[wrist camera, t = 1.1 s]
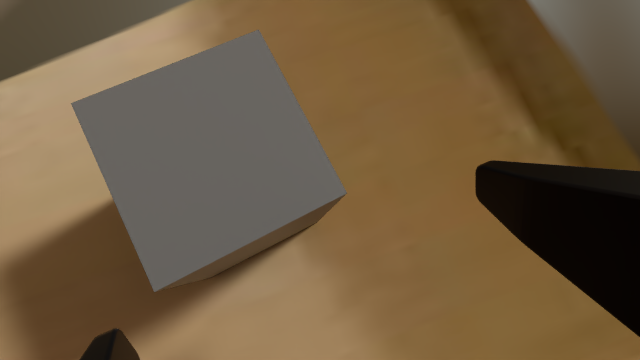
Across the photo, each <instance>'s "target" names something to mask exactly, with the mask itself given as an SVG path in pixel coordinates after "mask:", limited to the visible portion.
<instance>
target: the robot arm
mask: <svg viewBox="0 0 640 360" xmlns="http://www.w3.org/2000/svg"><path fill="white" fill-rule="evenodd" d="M476 196H477V198H478V200H479V201H480V202H481V203H482V204H483V205H484V206H485V207H486V208H487V209H488V210H489V211H490V212H491V213H492V214H493V215H494V216H495V217H496V218H497V219H498V220H499V221H500V222H501V223H502V224H503V225H504V226H505V227H506V228H507V229H508V230H509V231H510V232H511V233H512V234H513V235H515V236H516V237H517V238H518V239H519V240H520V241H521V242H522V243H523V244H525V245H526V246H527V247H528V248H529V249H531V250H532V251H533V252H534V253H536V254H537V255H538V256H539V257H541V258H542V259H543V260H544V261H546V262H547V263H548V264H549V265H551V266H552V267H553V268H554V269H556V270H557V271H558V272H559V273H561V274H562V275H563V276H564V277H565V278H567V279H568V280H569V281H570V282H572V283H573V284H574V285H575V286H577V287H578V288H579V289H580V290H582V291H583V292H584V293H585V294H587V295H588V296H589V297H590V298H592V299H593V300H594V301H595V302H597V303H598V304H599V305H600V306H602V307H603V308H604V309H605V310H607V311H608V312H609V313H610V314H611V315H613V316H614V317H615V318H616V319H618V320H619V321H620V322H621V323H623V324H624V325H625V326H626V327H628V328H629V329H630V330H631V331H633V332H634V333H635V334H636V335H638V336H639V337H640V171H630V170H616V169H603V168H589V167H575V166H562V165H548V164H534V163H521V162H507V161H488V162H486V163H484V164H481V165H479V166H478V167H477V169H476ZM80 360H140V358H139V356H138V354H137V352H136V350H135V349H134V348H133V346H132V345H131V343H130V342H129V341H128V339H127V338H126V336H125V335H124V334H123V332H122V331H121V330H119V329H116V328H115V329H112V330H110V331H107V332H105V333H103V334H101V335H99V336H97V337H95V338H94V340H93V341H92V342H91V344H90V345H89V347H88V348H87V350H86V351H85V353H84V354H83V355H82V357H81V358H80Z"/></svg>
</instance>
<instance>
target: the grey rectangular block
mask: <svg viewBox="0 0 640 360" xmlns="http://www.w3.org/2000/svg"><path fill="white" fill-rule="evenodd" d="M71 105H72V107H73V109H74V111H75V114H76V116H77V118H78V120H79V123H80V125H81V127H82V129H83V132H84V134H85V136H86V139H87V141H88V143H89V145H90V148H91V150H92V152H93V154H94V157H95V159H96V161H97V163H98V166H99V168H100V170H101V173H102V175H103V177H104V179H105V182H106V184H107V186H108V188H109V191H110V193H111V195H112V197H113V200H114V202H115V204H116V207H117V209H118V211H119V213H120V216H121V218H122V220H123V222H124V225H125V227H126V229H127V231H128V234H129V236H130V238H131V241H132V243H133V245H134V247H135V250H136V252H137V254H138V256H139V259H140V261H141V263H142V265H143V268H144V270H145V272H146V275H147V277H148V279H149V281H150V284H151V286H152V288H153V290H154V292H157V291H161V290H165V289H169V288H172V287H176V286H180V285H184V284H188V283H192V282H196V281H200V280H204V279H208V278H211V277H213V276H215V275H217V274H219V273H221V272H223V271H224V270H226V269H228V268H230V267H232V266H234V265H236V264H238V263H240V262H242V261H244V260H246V259H248V258H249V257H251V256H253V255H255V254H257V253H259V252H261V251H263V250H265V249H267V248H269V247H271V246H272V245H274V244H276V243H278V242H280V241H282V240H284V239H286V238H288V237H290V236H292V235H294V234H295V233H297V232H299V231H301V230H303V229H305V228H307V227H309V226H311V225H313V224H315V223H317V222H318V221H319V220H320V219H321V218H322V217H323V216H324V215H325V214H326V213H327V212H328V211H329V210H330V209H331V208H332V207H333V206H334V205H335V204H336V203H337V202H338V201H340V200H341V199H342V198H343V197H344V196H345V195H346V194H347V192H346V190H345V189H344V187H343V185H342V183H341V181H340V179H339V177H338V176H337V174H336V172H335V170H334V168H333V166H332V164H331V163H330V161H329V159H328V157H327V155H326V153H325V152H324V150H323V148H322V146H321V144H320V142H319V140H318V139H317V137H316V135H315V133H314V131H313V129H312V127H311V126H310V124H309V122H308V120H307V118H306V116H305V114H304V113H303V111H302V109H301V107H300V105H299V103H298V102H297V100H296V98H295V96H294V94H293V92H292V90H291V89H290V87H289V85H288V83H287V81H286V79H285V77H284V76H283V74H282V72H281V70H280V68H279V66H278V65H277V63H276V61H275V59H274V57H273V55H272V53H271V52H270V50H269V48H268V46H267V44H266V42H265V40H264V39H263V37H262V35H261V33H260V31H259V30H256V31H254V32H251V33H249V34H246V35H244V36H241V37H239V38H236V39H233V40H231V41H228V42H226V43H223V44H221V45H218V46H216V47H213V48H211V49H208V50H206V51H203V52H200V53H198V54H195V55H193V56H190V57H188V58H185V59H183V60H180V61H178V62H175V63H172V64H170V65H167V66H165V67H162V68H160V69H157V70H155V71H152V72H150V73H147V74H144V75H142V76H139V77H137V78H134V79H132V80H129V81H127V82H124V83H122V84H119V85H117V86H114V87H111V88H109V89H106V90H104V91H101V92H99V93H96V94H94V95H91V96H89V97H86V98H83V99H81V100H78V101H76V102H73V103H71Z"/></svg>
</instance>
